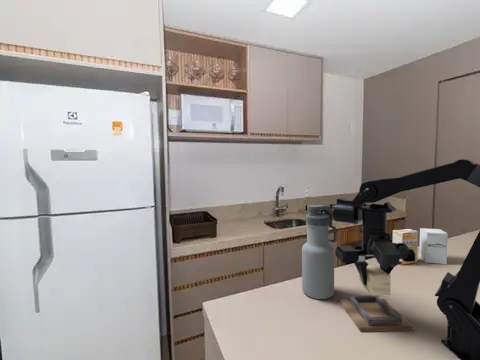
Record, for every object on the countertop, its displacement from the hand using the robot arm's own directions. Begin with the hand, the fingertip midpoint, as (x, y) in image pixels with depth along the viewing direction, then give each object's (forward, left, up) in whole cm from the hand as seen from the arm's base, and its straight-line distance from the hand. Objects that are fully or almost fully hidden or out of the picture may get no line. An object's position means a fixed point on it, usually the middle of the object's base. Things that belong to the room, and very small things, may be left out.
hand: (373, 284), depth 69 cm
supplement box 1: (+36, -31, -9) cm, 48 cm away
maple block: (0, 0, -1) cm, 1 cm away
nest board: (0, 0, -9) cm, 9 cm away
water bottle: (+13, +11, -9) cm, 19 cm away
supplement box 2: (+37, -43, -9) cm, 57 cm away
